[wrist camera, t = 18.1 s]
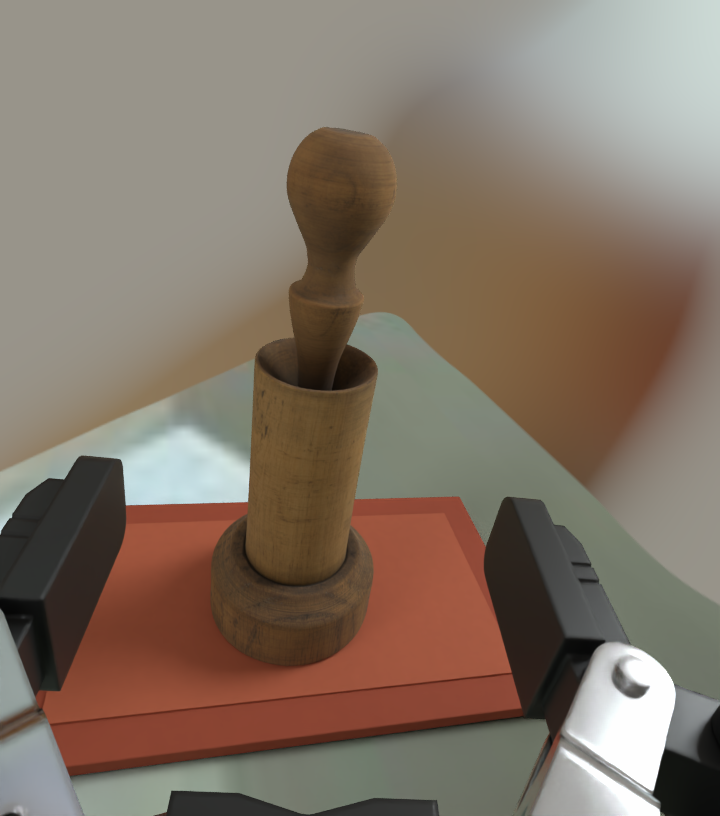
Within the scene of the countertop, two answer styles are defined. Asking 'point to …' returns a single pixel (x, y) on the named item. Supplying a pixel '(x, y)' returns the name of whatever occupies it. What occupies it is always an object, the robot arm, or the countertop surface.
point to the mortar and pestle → (310, 427)
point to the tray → (268, 683)
